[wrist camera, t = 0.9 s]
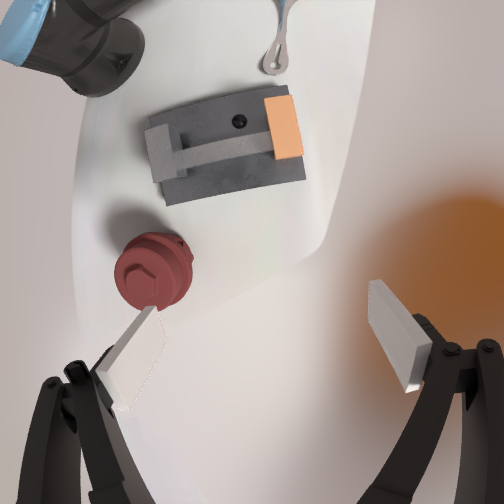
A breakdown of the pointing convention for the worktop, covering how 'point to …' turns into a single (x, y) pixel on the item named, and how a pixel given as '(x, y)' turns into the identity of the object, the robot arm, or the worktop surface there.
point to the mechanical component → (154, 270)
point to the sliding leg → (283, 127)
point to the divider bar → (196, 151)
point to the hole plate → (221, 128)
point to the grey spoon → (286, 3)
